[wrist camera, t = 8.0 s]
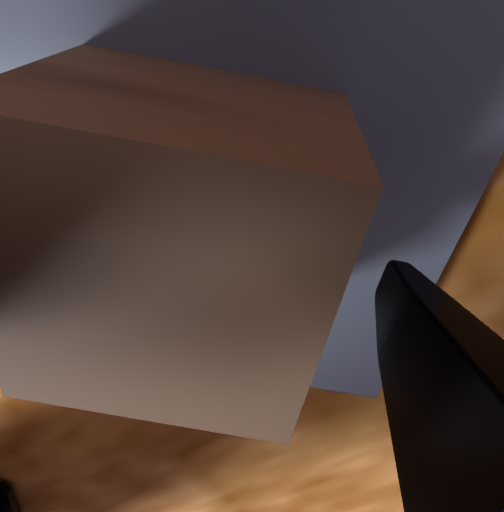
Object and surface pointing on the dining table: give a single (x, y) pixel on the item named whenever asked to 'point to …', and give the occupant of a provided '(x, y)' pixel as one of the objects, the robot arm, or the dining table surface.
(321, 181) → the walnut brick
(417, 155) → the build plate
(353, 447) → the dining table surface
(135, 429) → the dining table surface
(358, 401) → the dining table surface
